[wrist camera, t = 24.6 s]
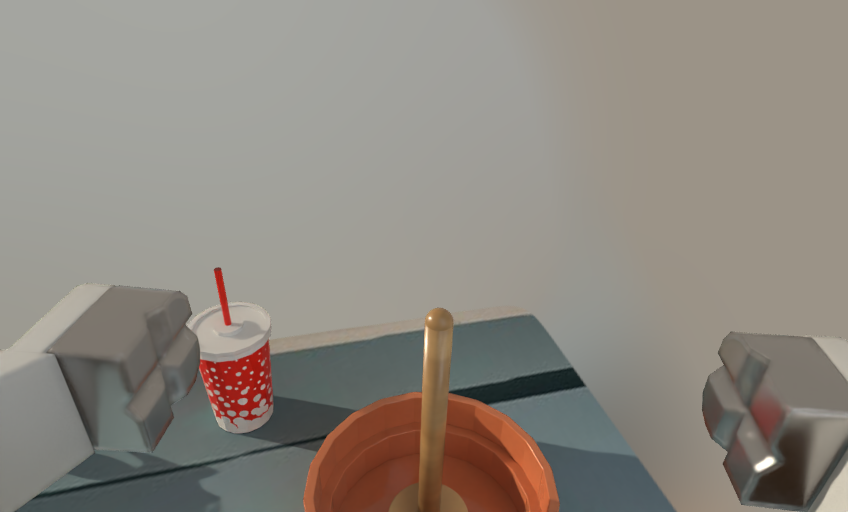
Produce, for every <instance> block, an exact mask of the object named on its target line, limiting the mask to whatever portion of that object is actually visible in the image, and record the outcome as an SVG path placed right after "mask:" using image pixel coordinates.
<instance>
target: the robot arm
mask: <svg viewBox="0 0 848 512" xmlns="http://www.w3.org/2000/svg"><path fill="white" fill-rule="evenodd" d="M191 315H192V311H191V308H190V304H189V301H188V297H187V296H186V295H185V294H183V293H182V292H180V291H172V290H161V289H151V288H141V287H130V286H120V285H119V286H115V285H105V284H93V283H86V284H82V285H78V286H76V287H75V288H74V289H73V290H72V291H71V292H70V293H69V294H67V295H66V296H65V297H64V298H63V299H62V300H61V301H60V302H59V303H58V304H57V305H55V306H54V307H53V308H52V309H51V310H50V311H49V312H48V313H47V314H46V315H45V316H43V317H42V319H40V320H39V321H38V322H37V323H36V324H35V325H34V326H33V327H31V328H30V329H29V330H28V331H27V332H26V333H25V334H24V335H23V336H22V337H21V338H19V339H18V340H17V341H16V342H15V343H14V344H13V345H12V346H11V347H10V348H9V349H8V350H0V512H15V511H16V510H18V509H19V508H20V507H22V506H23V505H24V504H26V503H27V502H29V501H30V500H31V499H33V498H34V497H35V496H37V495H38V494H39V493H41V492H42V491H43V490H45V489H46V488H48V487H49V486H50V485H52V484H53V483H54V482H56V481H57V480H58V479H60V478H61V477H62V476H64V475H65V474H67V473H68V472H69V471H71V470H72V469H73V468H75V467H76V466H77V465H79V464H80V463H82V462H83V461H84V460H86V459H87V458H88V457H90V456H91V455H92V454H94V453H95V451H94V450H111V451H128V452H145V453H153V451H154V449H155V448H156V446H157V444H158V443H159V441H160V440H161V438H162V436H163V435H164V433H165V431H166V430H167V428H168V426H169V425H170V423H171V421H172V420H173V418H174V416H173V412H172V408H171V405H172V404H174V403H176V402H177V401H179V400H180V399H182V398H184V397H185V396H187V395H188V393H189V391H190V390H191V388H192V386H193V384H194V383H195V381H196V377H197V373H198V369H199V365H200V346H199V341H198V337H197V335H196V334H195V333H194V332H193V331H192V330H191V329H189V328H188V327H187V326H186V325H185V324H186V322H187V321H188V319H189V317H190V316H191ZM718 354H719V356H720V358H721V360H722V362H723V364H724V365H723V366H722V367H720V368H719V369H717V370H716V371H714V372H713V373H712V374H710V375H709V376H708V379H707V382H706V385H705V388H704V391H703V403H702V411H703V416H704V421H705V425H706V427H707V430H708V432H709V434H710V437H711V438H712V439H713V440H714V441H715V442H716V443H718V444H719V445H720V446H721V447H722V448H724V449H725V450H726V451H727V452H728V453H727V455H726V457H725V460H724V462H723V465H724V468H725V470H726V472H727V474H728V476H729V478H730V481H731V483H732V485H733V487H734V490H735V492H736V494H737V496H738V498H739V501H740V503H741V505H747V506H756V507H765V508H773V509H782V510H791V511H799V512H848V341H847V340H845V339H843V338H841V337H827V336H805V335H804V336H786V335H771V334H757V333H743V332H730V333H729V334H728V335H727V336H726V337H725V338H724V339H723V342H722V344H721V347H720V349H719V351H718Z"/></svg>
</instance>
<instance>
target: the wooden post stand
mask: <svg viewBox="0 0 848 512" xmlns="http://www.w3.org/2000/svg"><path fill="white" fill-rule="evenodd" d="M452 335H453V317H452V315H451V314H450V312H448V311H447V310H446V309H443V308H435V309H433V310H431V311H430V312H429V313H428V314H427V316H426V318H425V332H424V358H423V385H422V411H421V437H420V464H419V482H418V483H415V484H412V485H409V486H407V487H406V488H404V489H403V490H401V491H400V492H399V493H398V494H397V495H396V496H395V498H394V499H393V501H392V503H391V505H390V507H389V511H388V512H468V510H467V507H466V505H465V503H464V501H463V500H462V498H461V497H460V496H459V495H458V494H457V493H456V492H455V491H454V490H453V489H451V488H449V487H448V486H446V485H443V484H442V475H443V461H444V447H445V433H446V419H447V405H448V391H449V377H450V363H451V349H452Z"/></svg>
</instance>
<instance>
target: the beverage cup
mask: <svg viewBox="0 0 848 512" xmlns="http://www.w3.org/2000/svg"><path fill="white" fill-rule="evenodd" d="M214 273H215V278H216V283H217V288H218V293H219V298H220V302H221V304H220V305H217V306H214V307H210V308H208V309H206V310H205V311H203V312H201V313H199V314H198V315H196V316H195V317H194V318H193V319H192V320H191V322H190V323H189V324H188V325H187V327H188V328H189V329H191V330H192V331H193V332H194V333H195V334H196V335H197V337H198V341H199V346H200V365H199V369H200V372H201V375H202V378H203V381H204V384H205V387H206V390H207V393H208V396H209V399H210V402H211V405H212V408H213V411H214V414H215V417H216V420H217V422H218V424H219V426H220V427H221V428H222V429H224V430H225V431H227V432H232V433H245V432H250V431H253V430H255V429H257V428H260V427H261V426H262V425H263V424H265V423H266V422H267V421H268V420H269V419H270V417H271V415H272V413H273V405H274V403H273V389H272V375H271V360H270V346H269V337H270V336H271V318H270V316H269V314H268V313H267V312H266V310H265V309H263V308H261V307H259V306H258V305H256V304H252V303H245V302H233V303H228V302H227V297H226V292H225V287H224V282H223V276H222V271H221V268H215V269H214Z"/></svg>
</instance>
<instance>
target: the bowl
mask: <svg viewBox="0 0 848 512" xmlns="http://www.w3.org/2000/svg"><path fill="white" fill-rule="evenodd" d="M421 411H422V392H411V393H407V394H402V395H398V396H393V397H388V398H384V399H380V400H378V401H376V402H374V403H372V404H370V405H368V406H366V407H364V408H362V409H360V410H358V411H356V412H354V413H352V414H351V415H350V416H349V417H348V418H347V419H345V420H344V421H343V422H342V423H341V424H340V425H339V426H338V427H337V428H336V429H334V430H333V431H332V432H331V433H330V434H329V435H328V436H327V437H326V439H325V441H324V442H323V444H322V446H321V448H320V449H319V451H318V453H317V454H316V456H315V458H314V460H313V461H312V463H311V465H310V468H309V473H308V478H307V483H306V488H305V493H304V498H303V500H304V501H303V502H304V510H305V512H388V511H389V507H390V505H391V503H392V501H393V499H394V498H395V496H396V495H397V494H398V493H399V492H400V491H401V490H403V489H404V488H406V487H407V486H409V485H412V484H415V483H418V482H419V464H420V437H421ZM442 484H443V485H446V486H448V487H449V488H451V489H453V490H454V491H455V492H456V493H457V494H458V495H459V496H460V497H461V498H462V500H463V501H464V503H465V505H466V507H467V510H468V512H559V506H560V503H559V502H560V501H559V497H558V493H557V489H556V485H555V480H554V476H553V472H552V469H551V467H550V465H549V463H548V462H547V460H546V458H545V457H544V455H543V454H542V452H541V450H540V449H539V447H538V445H537V444H536V442H535V441H534V439H533V438H532V437H531V436H530V435H529V434H528V433H526V432H525V431H524V430H523V429H522V428H521V427H520V426H519V425H518V424H516V423H515V422H514V421H513V420H512V419H511V418H510V417H508V416H507V415H505V414H503V413H501V412H499V411H498V410H496V409H494V408H492V407H490V406H488V405H486V404H484V403H482V402H480V401H478V400H475V399H471V398H467V397H463V396H459V395H455V394H451V393H448V405H447V419H446V433H445V447H444V461H443V475H442Z"/></svg>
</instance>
